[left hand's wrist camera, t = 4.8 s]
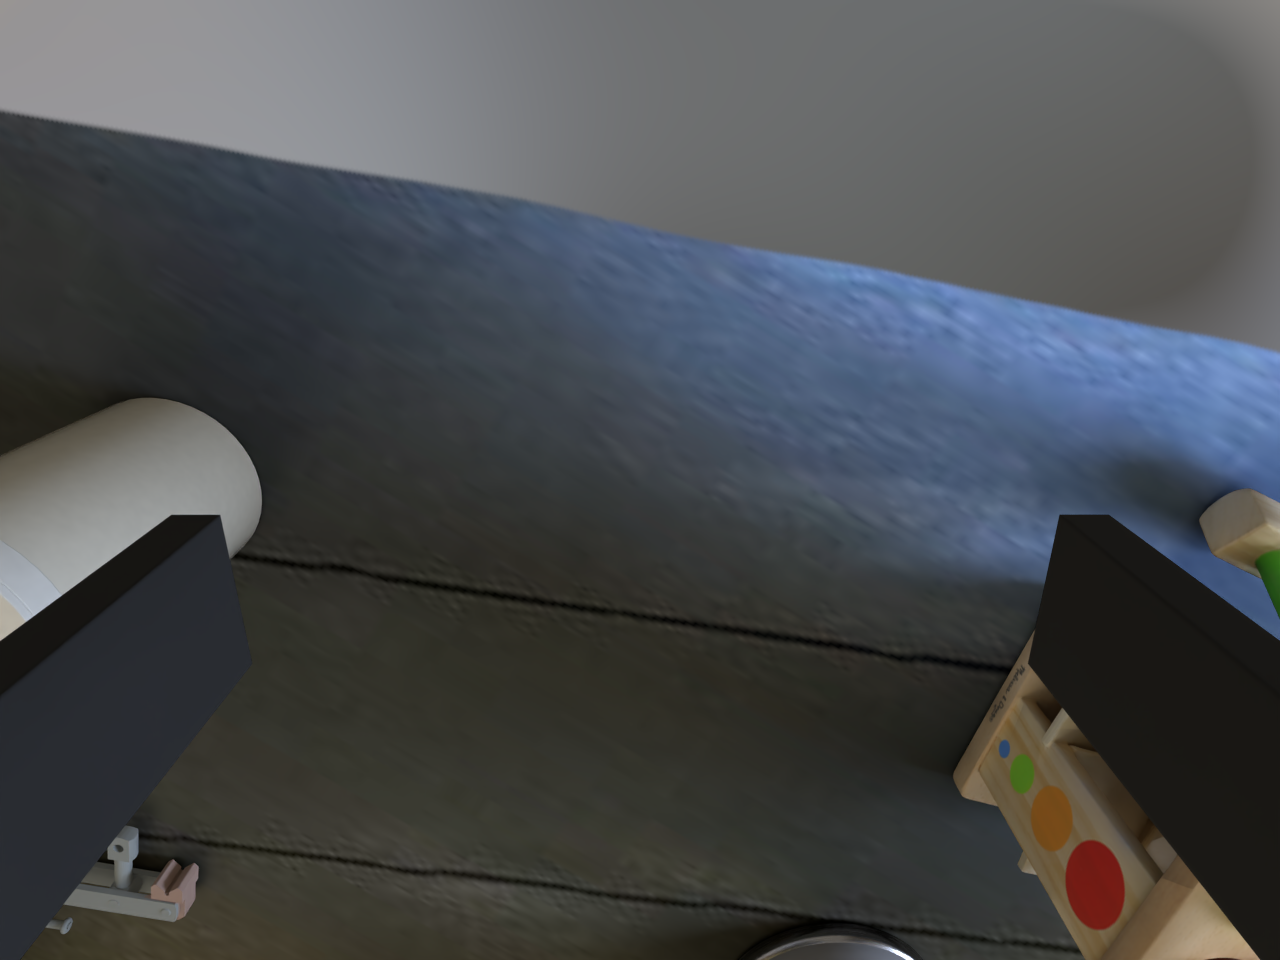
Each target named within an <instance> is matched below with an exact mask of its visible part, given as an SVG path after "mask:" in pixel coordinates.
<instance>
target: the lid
mask: <svg viewBox="0 0 1280 960" xmlns="http://www.w3.org/2000/svg"><path fill="white" fill-rule="evenodd" d="M60 596H62V595H61V593H60V592H59V591H58V590H57V588H56V587H55V586H54V585H53V583H52V582H51V581H50V580H49V579H48V578H47V577H46V576H45V575H44V574H43V573H42V572H41V571H40V570H39V569H38V568H37V567H36V566H35V565H34V564H32V563H31V562H30V561H29V560H28V559H26V558H25V557H24V556H23V555H22V554H20V553H19V552H17V551H16V550H15V549H13V548H12V547H10V546H9V545H7V544H6V543H4V542H3V541H1V540H0V641H1V640H2V639H3V638H5V637H6V636H7V635H9V634H10V633H12V632H13V631H14V630H16V629H17V628H18V627H20V626H21V625H22V624H24V623H25V622H26V621H28V620H29V619H31V618H32V617H33V616H35V615H36V614H37V613H39V612H40V611H41V610H43V609H44V608H45V607H47V606H48V605H50V604H51V603H52V602H54V601H55V600H56V599H58V598H59V597H60Z"/></svg>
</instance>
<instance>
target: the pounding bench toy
mask: <svg viewBox="0 0 1280 960" xmlns="http://www.w3.org/2000/svg"><path fill="white" fill-rule="evenodd" d="M1199 522H1200V525H1201V528H1202V530H1203V533H1204V536H1205V538H1206V541H1207V543H1208V546H1209V548H1210V550H1211V553H1212V554H1213V555H1214V556H1216V557H1218V558H1220V559H1222V560H1224V561H1226V562H1228V563H1230V564H1232V565H1234V566H1236V567H1238V568H1240V569H1242V570H1244V571H1246V572H1248V573H1250V574H1252V575H1254V576H1256V577H1258V578H1260V579H1262V580H1263V582H1264V585H1265V587H1266V589H1267V591H1268V594H1269V596H1270V598H1271V600H1272V602H1273V605H1274V607H1275V609H1276V612H1277V614H1278V616H1279V618H1280V503H1278V502H1277V501H1275V500H1273V499H1271V498H1269V497H1267V496H1265V495H1263V494H1261V493H1259V492H1257V491H1255V490H1252V489H1240V490H1236V491H1233V492H1231V493H1229V494H1227V495H1225V496H1223V497H1222V498H1220V499H1219V500H1217V501H1216V502H1215V503H1213V504H1212V505H1211V506H1210V507H1208V509H1207V510H1206V511H1205V512H1204V513H1203V514H1202V516H1201V517H1200V519H1199ZM1034 632H1035V630H1034ZM1034 632H1033V634H1032V635H1031V637H1030V639H1029V641H1028V642H1027V644H1026V646H1025V647H1024V649H1023V651H1022V653H1021V654H1020V656H1019V658H1018V660H1017V661H1016V663H1015V665H1014V667H1013V668H1012V670H1011V672H1010V674H1009V675H1008V677H1007V679H1006V681H1005V682H1004V684H1003V686H1002V687H1001V689H1000V691H999V693H998V694H997V696H996V698H995V700H994V701H993V703H992V705H991V707H990V709H989V710H988V712H987V714H986V716H985V717H984V719H983V721H982V723H981V725H980V726H979V728H978V730H977V732H976V733H975V735H974V737H973V739H972V740H971V742H970V744H969V746H968V748H967V749H966V751H965V753H964V755H963V756H962V758H961V760H960V762H959V763H958V765H957V767H956V769H955V771H954V774H953V779H954V781H955V784H956V786H957V788H958V789H959V791H960V793H961V795H962V796H963V797H965V798H967V799H970V800H974V801H979V802H983V803H987V804H991V805H995V806H998V807H999V809H1000V811H1001V812H1002V814H1003V816H1004V818H1005V819H1006V821H1007V823H1008V825H1009V827H1010V828H1011V830H1012V832H1013V834H1014V835H1015V837H1016V839H1017V841H1018V842H1019V844H1020V846H1021V848H1022V849H1023V853H1022V855H1021V857H1020V860H1019V862H1018V866H1019V868H1020V869H1021V870H1022V872H1026V873H1030V874H1034V875H1037V876H1038V877H1039V879H1040V881H1041V883H1042V884H1043V886H1044V888H1045V890H1046V892H1047V893H1048V895H1049V897H1050V898H1051V900H1052V902H1053V904H1054V905H1055V907H1056V909H1057V911H1058V912H1059V914H1060V916H1061V918H1062V919H1063V921H1064V923H1065V925H1066V926H1067V928H1068V930H1069V932H1070V933H1071V935H1072V937H1073V939H1074V940H1075V942H1076V944H1077V946H1078V947H1079V949H1080V951H1081V953H1082V954H1083V956H1084V958H1085V960H1260V959H1259V958H1258V956H1257V955H1256V954H1255V953H1254V951H1253V950H1252V949H1251V948H1250V946H1249V945H1248V944H1247V942H1246V941H1245V940H1244V939H1243V937H1242V936H1241V935H1240V934H1239V932H1238V931H1237V930H1236V928H1235V927H1234V926H1233V925H1232V923H1231V922H1230V921H1229V920H1228V918H1227V917H1226V916H1225V914H1224V913H1223V912H1222V911H1221V909H1220V908H1219V907H1218V905H1217V904H1216V903H1215V902H1214V900H1213V899H1212V898H1211V897H1210V895H1209V894H1208V893H1207V891H1206V890H1205V889H1204V888H1203V886H1202V885H1201V884H1200V883H1199V881H1198V880H1197V879H1196V877H1195V876H1194V875H1193V874H1192V872H1191V871H1190V870H1189V869H1188V867H1187V866H1186V865H1185V863H1184V862H1183V861H1182V860H1181V858H1180V857H1179V856H1178V854H1177V853H1176V852H1175V851H1174V849H1173V848H1172V847H1171V846H1170V844H1169V843H1168V842H1167V840H1166V839H1165V838H1164V837H1163V835H1162V834H1161V833H1160V832H1159V830H1158V829H1157V828H1156V826H1155V825H1154V824H1153V823H1152V821H1151V820H1150V819H1149V818H1148V816H1147V815H1146V814H1145V812H1144V811H1143V810H1142V809H1141V807H1140V806H1139V805H1138V803H1137V802H1136V801H1135V800H1134V798H1133V797H1132V796H1131V795H1130V793H1129V792H1128V791H1127V789H1126V788H1125V787H1124V786H1123V784H1122V783H1121V782H1120V781H1119V779H1118V778H1117V777H1116V775H1115V774H1114V773H1113V772H1112V770H1111V769H1110V768H1109V767H1108V765H1107V764H1106V763H1105V761H1104V760H1103V759H1102V758H1101V756H1100V755H1099V754H1098V752H1097V751H1096V750H1095V749H1094V747H1093V746H1092V745H1091V744H1090V742H1089V741H1088V740H1087V738H1086V737H1085V736H1084V735H1083V733H1082V732H1081V731H1080V730H1079V728H1078V727H1077V726H1076V724H1075V723H1074V722H1073V721H1072V719H1071V718H1070V717H1069V716H1068V714H1067V713H1066V712H1065V710H1064V709H1063V708H1062V707H1061V705H1060V704H1059V703H1058V702H1057V700H1056V699H1055V698H1054V696H1053V695H1052V694H1051V693H1050V691H1049V690H1048V689H1047V687H1046V686H1045V685H1044V684H1043V682H1042V681H1041V680H1040V679H1039V677H1038V676H1037V675H1036V673H1035V672H1034V671H1033V670H1032V668H1031V667H1030V666H1029V665H1028V660H1029V655H1030V651H1031V646H1032V641H1033V637H1034Z"/></svg>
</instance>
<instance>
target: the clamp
mask: <svg viewBox="0 0 1280 960" xmlns="http://www.w3.org/2000/svg"><path fill="white" fill-rule="evenodd" d="M137 855H138V829H137V828H135V827H131V826H126V825H125V826H124V828H123V829H122V830H121V832H120V833H119V834H118V835H117V837H116V838H115V839H114V840H113V842H112V843H111V844H110V846H109V847H108V859H110V860H114V865H113V864H106V863H100V862H96V863H95V865H94V866H93V867H92V869H91V870H90V871H89V872H88V874H87V875H86V876H85V877H84V879H83V880H82V881H81V882H84V883H90V884H96V885H102V886H108V887H110V888H104V887H97V886H91V885H85V884H79V885H78V886H77V888H76V889H75V890H74V891H73V893H72V894H71V895H70V897H69V898H68V899H67V900H66V902H65V903H64V905H71V906H77V907H83V908H89V909H96V910H102V911H108V912H114V913H121V914H127V915H133V916H139V917H146V918H152V919H158V920H165V921H171V922H175V920H176V919H177V920H179V919H181V918H183V917H184V916H185V915H186V913H187V912H188V910H189V908H190V907H191V905H192V904H193V902H194V900H195V888H196V881H197V879H198V870H199V867H198V866H197V865H196V864H195V863H192V864H191V865H189V866H187V867H185V868H184V870H182V869H181V866H180V865H179V864H178V863H177V862H176V861H174V860H173V859H172V860H170V861H168V863H167V864H166V866H165V867H164V869H163V870H162V871H161V872H155V871H149V870H143V869H137V868H133V863H132V860H134V859H135V858H136V857H137ZM138 891H139V892H145V893H151V895H147V894H141V893H138ZM72 922H73V920H72V918H70V917H69V918H67V919H65V920H64V921H63V920H56V919H52V920H51V921H50V922H49V923H48V925H47V926H46V927H45V928H53V929H60V933H61V934H65V933H67V932H68V931H69V929H70V928H71V926H72Z"/></svg>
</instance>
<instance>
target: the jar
mask: <svg viewBox="0 0 1280 960" xmlns="http://www.w3.org/2000/svg"><path fill="white" fill-rule="evenodd" d="M261 507H262V493H261V486H260V482H259V478H258V475H257V472H256V469H255V467H254V465H253V463H252V461H251V459H250V457H249V455H248V454H247V452H246V451H245V449H244V448H243V446H242V445H241V444H240V443H239V441H238V440H237V439H236V438H235V437H234V436H233V435H232V434H231V433H230V432H229V431H228V430H227V429H226V428H225V427H224V426H222V425H221V424H220V423H219V422H217V421H216V420H215V419H213V418H212V417H210V416H208V415H207V414H205V413H203V412H201V411H199V410H197V409H195V408H193V407H191V406H188V405H185V404H182V403H180V402H175V401H171V400H167V399H159V398H137V399H130V400H126V401H123V402H119V403H116V404H114V405H112V406H110V407H107V408H105V409H103V410H101V411H98V412H96V413H94V414H92V415H90V416H87V417H85V418H83V419H81V420H78V421H76V422H74V423H72V424H69V425H67V426H65V427H63V428H60V429H58V430H56V431H54V432H52V433H49V434H47V435H45V436H43V437H40V438H38V439H36V440H34V441H31V442H29V443H27V444H25V445H22V446H20V447H18V448H16V449H14V450H11V451H9V452H7V453H5V454H2V455H0V540H1V541H3V542H4V543H6V544H7V545H9V546H10V547H12V548H13V549H15V550H16V551H17V552H19V553H20V554H22V555H23V556H24V557H25V558H26V559H28V560H29V561H30V562H31V563H32V564H34V565H35V566H36V567H37V568H38V569H39V570H40V571H41V572H42V573H43V574H44V575H45V576H46V577H47V578H48V579H49V580H50V581H51V582H52V583H53V585H54V586H55V587H56V588H57V590H58V591H59V592H60V593H61V595H63V594H64V593H66V592H67V591H69V590H70V589H71V588H73V587H74V586H75V585H77V584H78V583H79V582H81V581H82V580H83V579H85V578H86V577H88V576H89V575H90V574H92V573H93V572H94V571H96V570H97V569H98V568H100V567H101V566H102V565H104V564H105V563H107V562H108V561H109V560H111V559H112V558H113V557H115V556H116V555H117V554H119V553H120V552H121V551H123V550H124V549H125V548H127V547H128V546H130V545H131V544H132V543H134V542H135V541H136V540H138V539H139V538H140V537H142V536H143V535H144V534H146V533H147V532H149V531H150V530H151V529H153V528H154V527H155V526H157V525H158V524H159V523H161V522H162V521H163V520H165V519H166V518H168V517H169V516H170V515H220V516H221V520H222V525H223V530H224V534H225V539H226V544H227V548H228V553H229V558H230V559H231V558H232V557H233V556H234V555H235V554H236V553H238V552H239V551H240V550H241V549H242V548H243V547H244V546H245V544H246V543H247V542H248V541H249V540H250V538H251V537H252V535H253V533H254V532H255V530H256V527H257V525H258V523H259V519H260V515H261Z"/></svg>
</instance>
